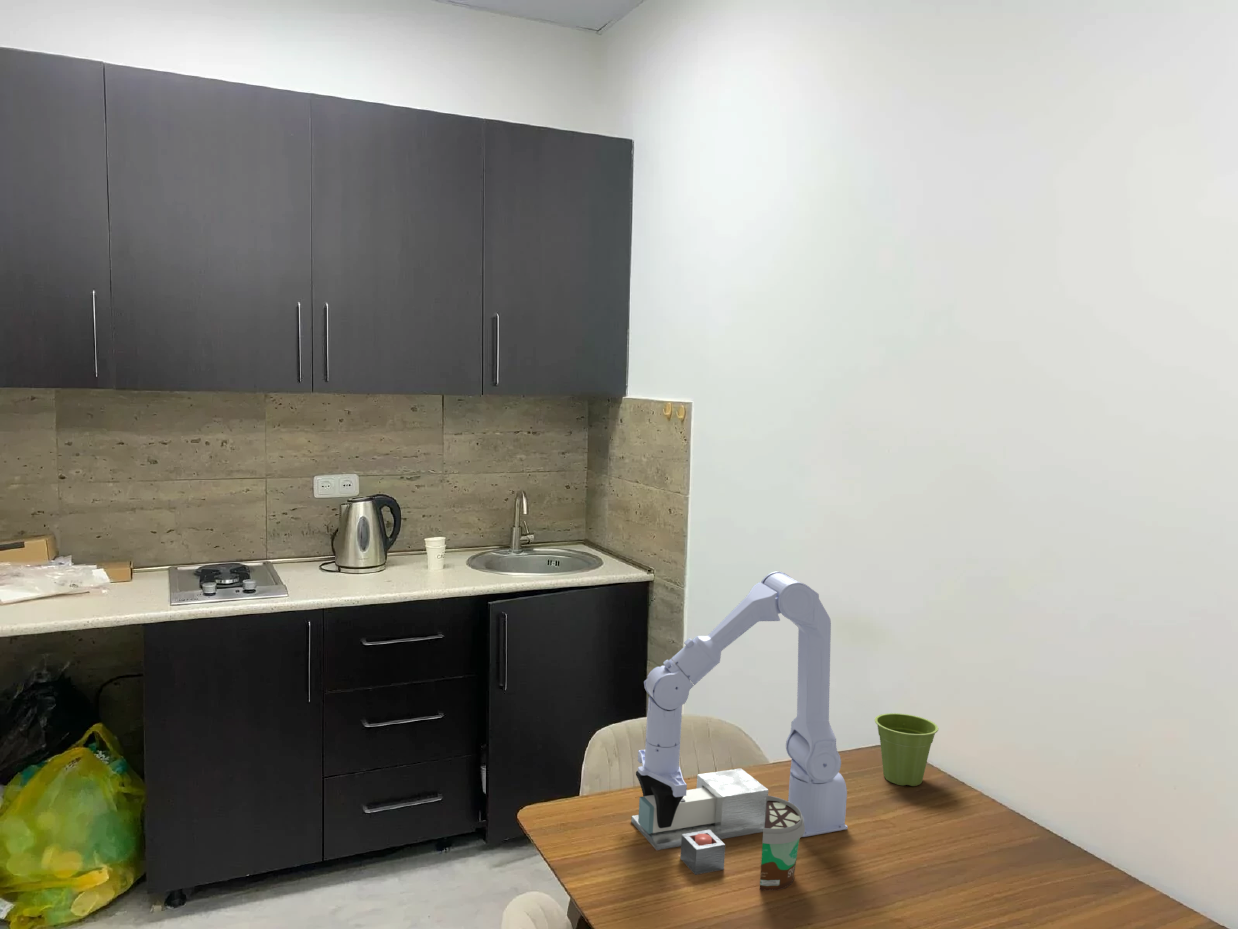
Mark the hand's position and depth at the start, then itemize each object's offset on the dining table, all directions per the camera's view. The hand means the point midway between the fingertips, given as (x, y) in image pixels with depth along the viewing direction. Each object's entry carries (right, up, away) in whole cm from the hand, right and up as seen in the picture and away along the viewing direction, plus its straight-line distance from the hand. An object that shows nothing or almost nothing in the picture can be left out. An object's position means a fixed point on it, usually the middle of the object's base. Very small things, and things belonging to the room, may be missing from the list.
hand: (658, 820), depth 149 cm
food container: (+18, -4, -11) cm, 22 cm away
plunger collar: (+6, -3, -9) cm, 11 cm away
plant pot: (+49, -3, +27) cm, 56 cm away
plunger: (+6, -3, -9) cm, 11 cm away
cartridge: (+4, -1, +2) cm, 4 cm away
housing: (+7, -2, +3) cm, 8 cm away
